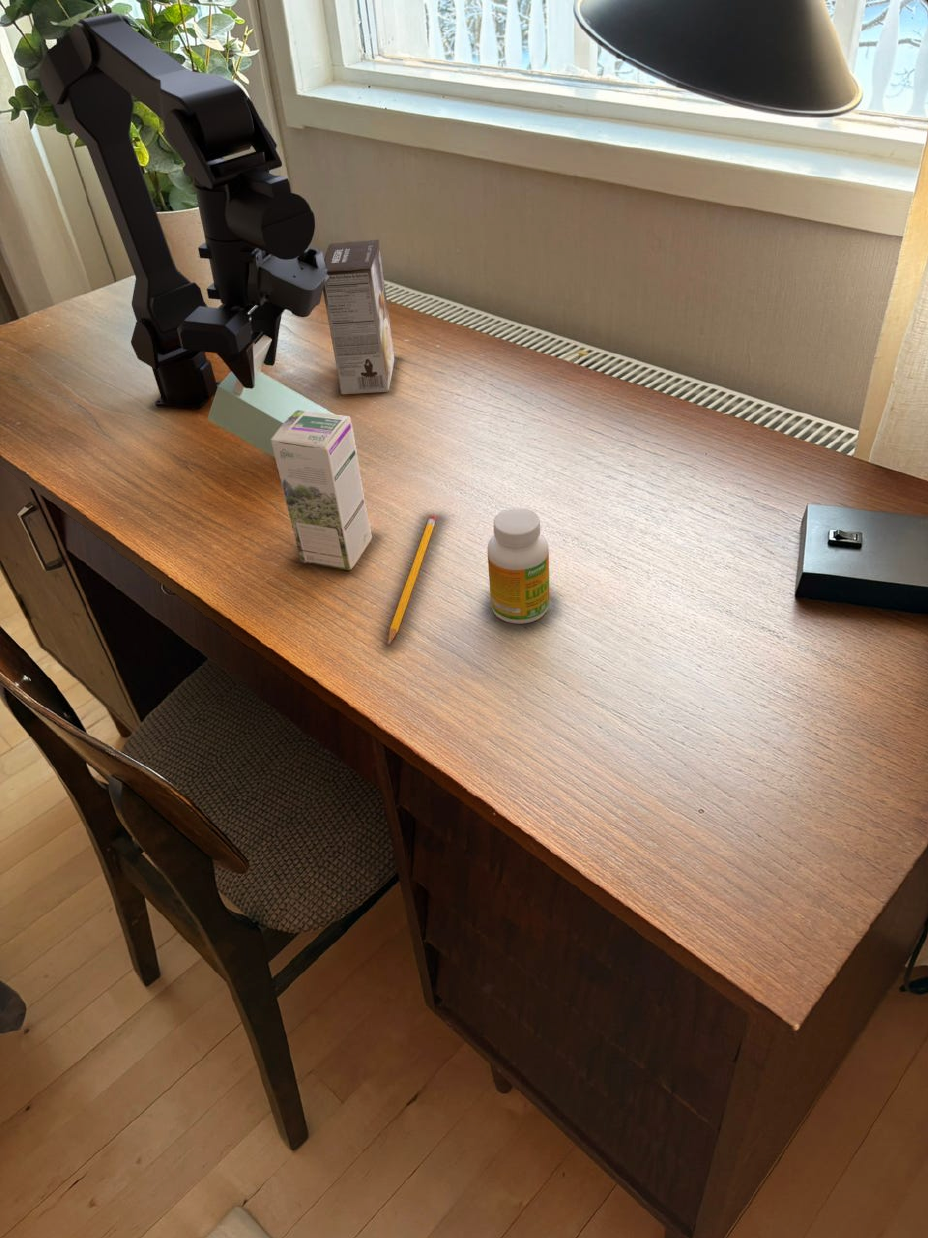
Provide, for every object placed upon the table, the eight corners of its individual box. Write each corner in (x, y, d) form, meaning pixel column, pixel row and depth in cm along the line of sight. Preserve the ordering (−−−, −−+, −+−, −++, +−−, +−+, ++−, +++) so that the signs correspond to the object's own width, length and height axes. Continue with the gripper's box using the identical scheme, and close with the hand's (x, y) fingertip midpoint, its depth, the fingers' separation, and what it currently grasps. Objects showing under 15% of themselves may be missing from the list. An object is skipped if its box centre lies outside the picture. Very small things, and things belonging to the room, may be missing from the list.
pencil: (437, 520, 98) (436, 515, 98) (393, 647, 84) (392, 641, 84) (429, 520, 98) (428, 515, 98) (385, 647, 84) (383, 641, 84)
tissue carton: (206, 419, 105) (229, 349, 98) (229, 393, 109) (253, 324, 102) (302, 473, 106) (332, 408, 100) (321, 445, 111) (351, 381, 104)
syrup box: (374, 538, 96) (352, 411, 87) (350, 573, 92) (325, 445, 83) (323, 530, 98) (297, 405, 88) (298, 565, 94) (267, 438, 84)
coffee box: (348, 362, 126) (328, 241, 116) (395, 359, 126) (379, 237, 115) (340, 395, 120) (318, 270, 109) (390, 392, 119) (373, 267, 109)
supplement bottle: (531, 632, 84) (529, 546, 78) (480, 614, 86) (473, 528, 80) (559, 597, 87) (559, 511, 81) (509, 581, 90) (505, 496, 83)
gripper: (270, 275, 84) (294, 428, 95) (344, 204, 97) (358, 345, 108) (158, 264, 86) (194, 415, 97) (245, 196, 100) (268, 335, 110)
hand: (259, 376), depth 103 cm, fingers closed on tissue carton, 5 cm apart
